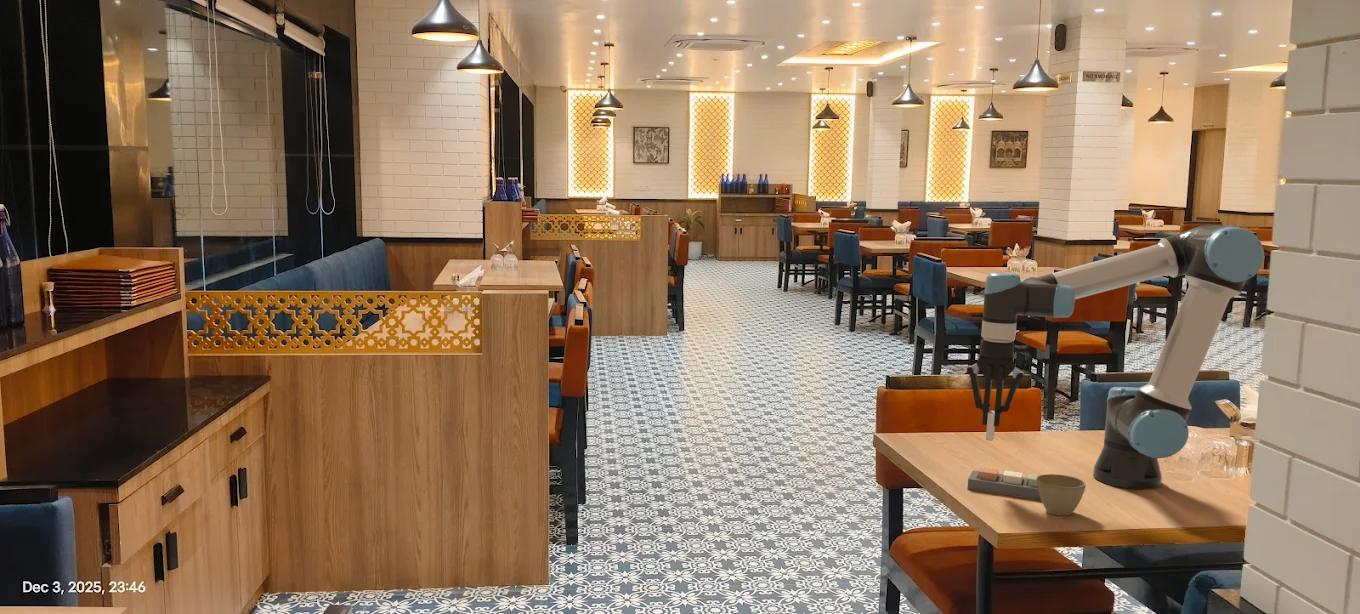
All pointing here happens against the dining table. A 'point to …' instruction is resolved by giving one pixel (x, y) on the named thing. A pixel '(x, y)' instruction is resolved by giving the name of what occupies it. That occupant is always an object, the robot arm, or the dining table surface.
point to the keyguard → (1003, 486)
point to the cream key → (1013, 477)
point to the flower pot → (1060, 493)
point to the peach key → (988, 474)
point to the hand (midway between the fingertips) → (989, 439)
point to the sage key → (1032, 480)
